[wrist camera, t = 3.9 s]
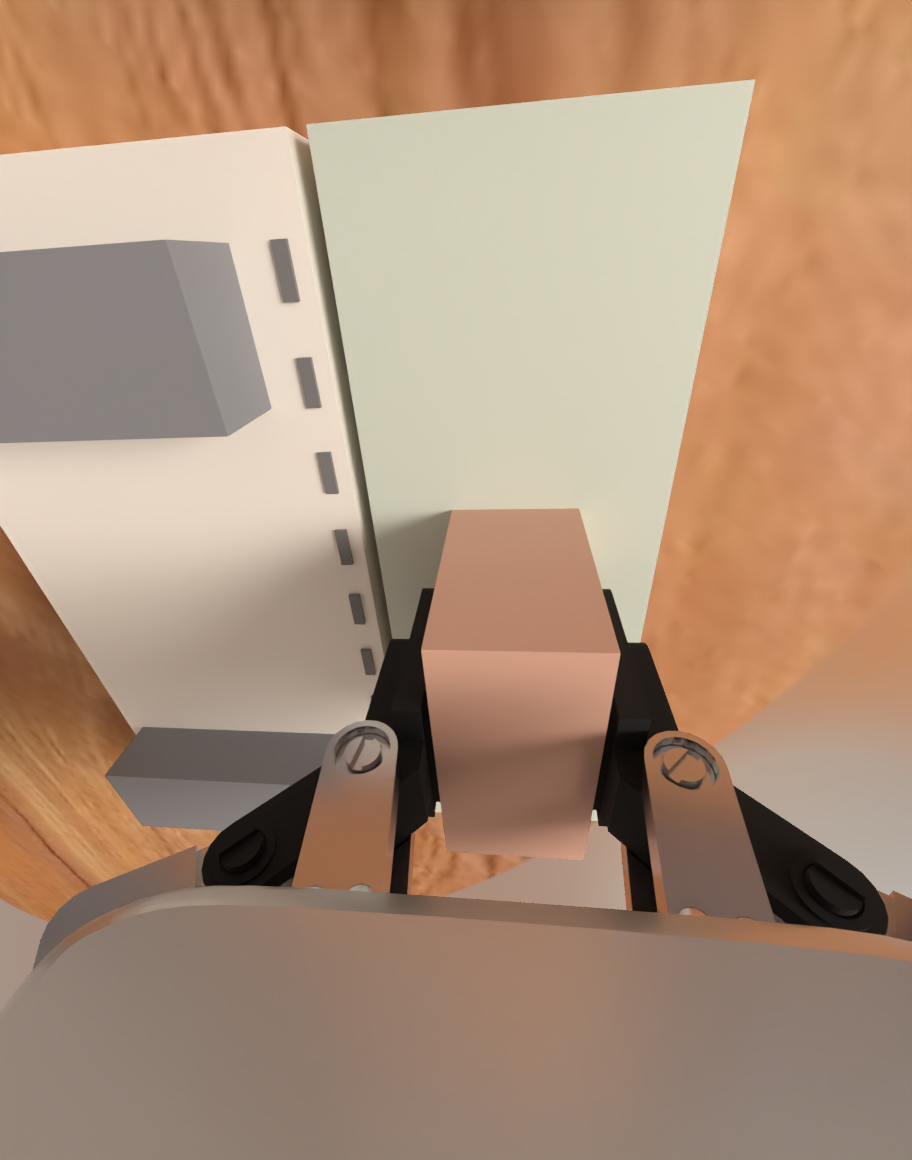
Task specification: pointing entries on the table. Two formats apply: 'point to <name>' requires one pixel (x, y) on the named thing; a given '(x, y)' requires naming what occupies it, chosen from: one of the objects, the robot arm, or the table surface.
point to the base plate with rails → (190, 457)
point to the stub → (525, 409)
